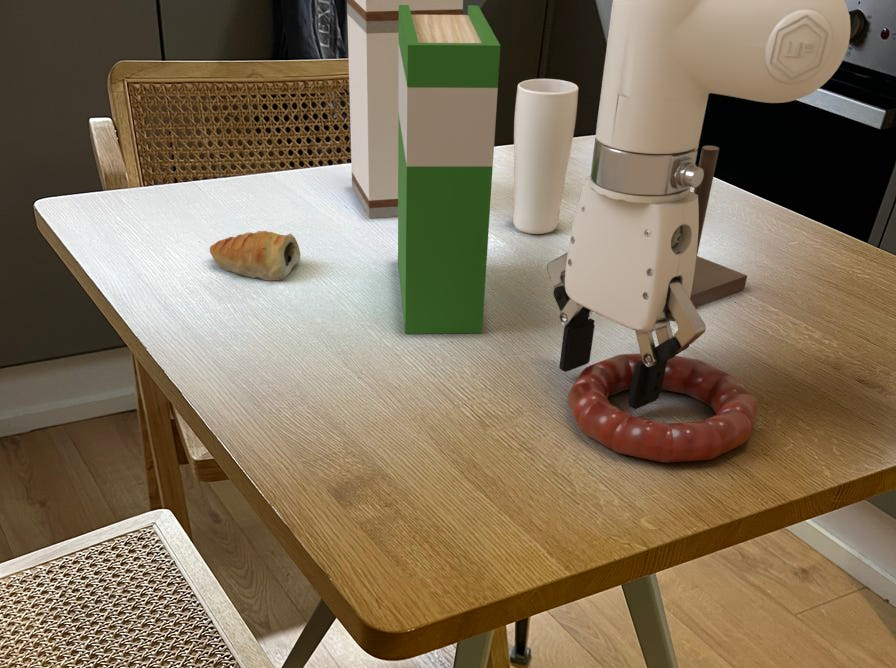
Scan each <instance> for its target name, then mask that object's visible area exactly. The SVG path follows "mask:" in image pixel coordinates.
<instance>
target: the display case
mask: <svg viewBox="0 0 896 668" xmlns="http://www.w3.org/2000/svg"><path fill="white" fill-rule="evenodd" d="M399 5H409V8H410V12H411V15H464V0H346V11H347V13H346V14H347V18H346V19H347V46H348V47H347V48H348V54H347V55H348V86H349V87H348V88H349V122H350V123H349V124H350V125H349V126H350V160H351V161H350V162H351V164H350V165H351V189H352V191H353V193H354V195H355V196H356V198H357V199H358V201H359V203H360V205H361V207H362V208H363V210H364V212H365V214H366V215H367V217H368V219H380V218H381V219H383V218H396V217H397V218H398V79H399Z"/></svg>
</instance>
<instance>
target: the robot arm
mask: <svg viewBox="0 0 896 668" xmlns="http://www.w3.org/2000/svg"><path fill="white" fill-rule="evenodd" d="M850 38H851V17H850V13H849V9H848V6H847V3H846V2H845V0H612V4H611V10H610V18H609V27H608V34H607V41H606V42H607V43H606V49H605V50H606V51H605V58H604V65H603V75H602V81H601V89H600V90H601V91H600V98H599V104H598V105H599V106H598V113H597V119H596V120H597V122H596V130H595V136H594V137H595V138H594V145H593V152H592V160H591V168H590V175H588V176H587V177H586V178H585V180H584V183H583V186H582V188H581V191H580V196H579V199H578V202H577V207H576V209H575V213H574V218H573V222H572V228H571V232H570V238H569V243H568V247H567V252H565V253H563V254H562V255H560V256H558V257H556V258H555V259H553V260H552V261H549V262H548V263H547V265H546V271H547V274H548V277H549V280H550V283H551V285H552V288H554V289H553V298H554V300H555V303H556V305H557V307H558V309H559V311H560V312H559V315H558V321H559V323H560V324H561V325H562V326H564V327H563V333H562V342H561V350H560V359H559V366H558V368H559V370H560V371H562V372H564V373H566V372H569V371H572V370H575V369H577V368H580V367H582V366H586V365H588V364H589V363H590V360H591V353H592V349H593V348H592V347H593V341H594V333H595V321H596V320H595V319H593V318H590V317H591V315H592V314H593V313H594V314H597V315H599V316H602V317H604V318H606V319H608V320H610V321H612V322H615V323H617V324H619V325H620V326H623V327H625V328H627V329H630V330H631V331H634V332H635V336H636V339H637V340H636V341H637V345H638V348H639V354H641V357H642V361H640V362H638V363H636V364H635V367H634V372H633V378H632V384H631V389H630V390H629V394H628V395H629V396H628V401H627V404H628V406H629V408H631V409H633V410H637V409H640V408H642V407H644V406H646V405H649V404H651V403H653V402H656V401H657V400H658V399H659V397H660V395H661V393H662V391H663V390H662V385H663V380H664V375H665V370H666V365H667V360H669V359H671V358H674V357H675V355H676V356H678V355H679V354H680V353H682V352H684V351H686V350H687V349H688V348H689V347H690V345H693V343H694V342H696V341H697V340H698V339H699V338H700V337H701V336H703V335H704V334H705V333H706V330H707V329H706V328H707V327H706V324H705V322H704V320H703V319H702V317H701V315H700V314H699V312H698V310H697V309H696V307H694V305H693V303H692V302H691V300H690V296H691V291H692V285H693V278H694V271H695V263H696V255H697V256H698V254H697V245H698V229H699V205H698V195H697V194H695V193H694V192H692V191H691V188H693V189H694V188H697V187H698V186H699V185H700V184H701V182H702V180H703V177H704V171H703V169H702V168H699V166H698V165H697V164H696V162H697V157H698V152H699V147H700V146H699V145H700V140H701V135H702V130H703V125H704V121H705V120H704V119H705V115H706V109H707V105H708V100H709V94H715V95H721V96H727V97H732V98H738V99H742V100H743V99H744V100H748V101H753V102H757V103H758V102H759V103H767V104H780V103H781V104H782V103H789V102H793V101H797V100H800V99H803V98H804V97H807V96H809V95H811V94H812V93H814V92H816V91H817V90H819V89H820V88H821V87H822V86H824V85H825V84H826V83H827V82H828V81H829V80H830V79H831V78H832V77H833V76H834V74H835V73H836V72H837V71H838V69H839V68H840V66H841V64H842V62H843V61H844V59H845V57H846V54H847V50H848V47H849V44H850ZM671 322H675V323H676V326H677V331H676V332H675V333H674V334H673V330H672V325H671ZM654 331H655V334H656V339H657V343H658V345H656V344H655V340H654V339H655V338H654V336H653V332H654Z"/></svg>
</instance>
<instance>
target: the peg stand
mask: <svg viewBox="0 0 896 668" xmlns="http://www.w3.org/2000/svg"><path fill="white" fill-rule="evenodd" d="M719 152H720V148H719V146H715V145H703V146H702V147H701V152H700V158H699V162H698V167H699V168H702V169H703V171H704V177H703V180H702V182H701V184H700V185H699V186H698V187H697V188H693V193H695V194H697V195H698V205H699V229H698V245H697V255H696V263H695V271H694V278H693V285H692V291H691V296H690V300H691V302H692V303H693V305H694V307H695V308H697V307H700V306H703V305H706V304H709V303H711V302H714V301H717V300H719V299H722V298H725V297H727V296H730V295H733V294H736V293H738V292H741V291H743V290H745V287H746V283H747V279H748V274H745V273H742V272H740V271H737V270H734V269H732V268H730V267H728V266H724V265H722V264H719V263H716V262H715V261H712V260H709V259H706V258H704V257H701V256H698V254H699V247H700V244H701V240H702V235H703V229H704V224H705V220H706V215H707V210H708V206H709V201H710V196H711V191H712V186H713V180H714V177H715V172H716V167H717V161H718V157H719Z"/></svg>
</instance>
